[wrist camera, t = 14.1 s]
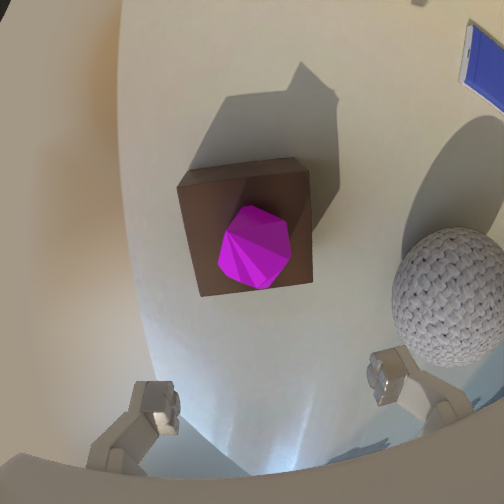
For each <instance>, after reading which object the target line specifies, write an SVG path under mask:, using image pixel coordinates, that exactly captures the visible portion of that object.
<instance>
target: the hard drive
mask: <svg viewBox="0 0 504 504" xmlns="http://www.w3.org/2000/svg"><path fill="white" fill-rule="evenodd" d="M459 82H460V83H461V84H463V85H464V86H466V87H467V88H468V89H470V90H471V91H473V92H474V93H475V94H477V95H478V96H480V97H481V98H482V99H484V100H485V101H486V102H488V103H489V104H490V105H492V106H493V107H494V108H495V109H497V110H498V111H499V112H500V113H502V114H503V115H504V50H503V49H502V48H501V47H499V46H498V45H497V44H496V43H495V42H494V41H493V40H491V39H490V38H489V37H488V36H486V35H485V34H484V33H483V32H481V31H480V30H479V29H478V28H476V27H475V26H474V25H471V26H468V27H467V29H466V37H465V45H464V52H463V58H462V64H461V70H460V75H459Z"/></svg>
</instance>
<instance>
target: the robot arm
mask: <svg viewBox="0 0 504 504" xmlns="http://www.w3.org/2000/svg"><path fill="white" fill-rule="evenodd" d="M369 360H370V362H371V363H370V365H369V366H368V368H367V379H368V383H369V385H370V387H371V388H373V389H375V391H374V397H375V399H376V402H377V404H378V406H382V405H386V404H390V403H393V402H396V403H398V404H399V405H400V406H401V407H403V408H404V409H405V410H407V411H408V412H409V413H411V414H412V415H413V416H415V417H416V418H417V419H419V420H420V421H421V422H423V423H424V424H425V425H424V426H423V428H422V430H421V431H420V433H419V435H418V436H419V438H416V439H414V440H411V441H408V442H405V443H403V444H400V445H397V446H394V447H391V448H388V449H384V450H381V451H378V452H375V453H371V454H368V455H364V456H361V457H357V458H353V459H349V460H345V461H341V462H337V463H332V464H327V465H323V466H318V467H313V468H307V469H301V470H295V471H289V472H282V473H274V474H266V475H257V476H246V477H232V478H206V479H205V478H201V479H188V478H186V479H185V478H160V477H147V473H146V472H145V471H144V470H143V469H142V468H141V467H140V466H138V464H139V463H140V461H141V460H142V458H143V457H144V456H145V455H146V453H147V452H148V451H149V449H150V448H151V447H152V445H153V444H154V442H155V441H156V439H157V438H158V437H159V435H178V429H179V420H178V419H177V416H178V415H179V414H180V408H181V407H180V399H179V396H178V393H177V392H175V391H174V385H173V383H172V381H137V382H136V383H135V385H134V389H133V393H132V397H131V401H130V405H129V410H128V412H124V413H123V414H122V415H121V416H120V417H119V418H118V419H117V420H116V421H115V422H114V423H113V424H112V425H111V426H110V427H109V428H108V429H107V430H106V431H105V432H104V433H103V434H102V435H101V436H100V437H99V438H98V439H97V440H96V441H95V442H93V443H92V445H91V449H90V452H89V457H88V461H87V465H86V468H80V467H75V466H71V465H66V464H61V463H58V462H54V461H50V460H46V459H42V458H39V457H35V456H32V455H28V454H24V453H20V454H17V455H16V456H14V457H13V458H11V459H10V460H8V461H7V462H6V463H5V464H3V465H2V466H1V467H0V504H504V397H503V398H501V399H499V400H497V401H496V402H494V403H492V404H490V405H488V406H487V407H485V408H483V409H481V410H479V411H477V412H475V410H474V408H473V406H472V405H471V403H470V401H469V400H468V398H467V396H466V395H465V393H464V392H463V391H461V390H459V389H458V388H456V387H454V386H452V385H450V384H448V383H446V382H444V381H442V380H441V379H439V378H437V377H435V376H433V375H431V374H429V373H428V372H426V371H424V370H423V371H420V369H419V367H418V366H417V364H416V362H415V361H414V359H413V357H412V356H411V354H410V353H409V351H408V349H407V348H406V346H404V345H402V346H398V347H394V348H389V349H386V350H382V351H378V352H374V353H372V354H371V355H370V359H369Z"/></svg>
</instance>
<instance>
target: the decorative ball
mask: <svg viewBox="0 0 504 504" xmlns="http://www.w3.org/2000/svg"><path fill="white" fill-rule="evenodd" d="M392 313H393V318H394V322H395V326H396V328H397V331H398V333H399V335H400V337H401V338H402V340H403V342H404V343H405V344H406V346H407V347H408V348H409V349H410V350H411V351H412V352H413V353H414V354H415V355H417V356H418V357H419V358H421V359H423V360H425V361H426V362H429V363H431V364H434V365H437V366H441V367H460V366H465V365H469V364H471V363H474V362H476V361H478V360H480V359H482V358H483V357H485V356H486V355H488V354H489V353H490V352H492V351H493V350H494V349H495V348H496V347H497V346H498V344H499V343H500V342H501V341H502V339H503V338H504V251H503V250H502V249H501V247H500V246H499V245H498V244H497V243H495V242H494V241H493V240H492V239H491V238H489V237H488V236H486V235H484V234H483V233H480V232H478V231H475V230H472V229H468V228H461V227H453V228H446V229H442V230H439V231H436V232H434V233H432V234H430V235H428V236H426V237H425V238H423V239H422V240H421V241H419V242H418V243H417V244H416V245H415V246H414V247H413V248H412V249H411V250H410V251H409V252H408V254H407V255H406V256H405V258H404V259H403V261H402V262H401V264H400V266H399V268H398V270H397V273H396V275H395V278H394V282H393V287H392Z"/></svg>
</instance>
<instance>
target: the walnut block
mask: <svg viewBox="0 0 504 504" xmlns="http://www.w3.org/2000/svg"><path fill="white" fill-rule="evenodd" d="M177 193H178V198H179V203H180V208H181V213H182V217H183V222H184V227H185V232H186V236H187V241H188V245H189V250H190V254H191V259H192V263H193V267H194V271H195V276H196V280H197V284H198V288H199V292H200V296H201V297H204V296H213V295H221V294H230V293H238V292H246V291H254V290H262V289H257V288H254V287H252V286H249V285H247V284H244V283H241V282H239V281H237V280H235V279H232V278H230V277H228V276H227V275H226V274H225V273H224V272H223V270H222V269H221V268H220V267H219V265H218V261H219V256H220V251H221V246H222V241H223V236H224V234H225V232H226V230H227V228H228V227H229V225H230V224H231V222H232V221H233V220H234V218H235V217H236V215H237V214H238V212H239V211H240V209H241V208H242V207H245V206H250V205H252V206H254V207H256V208H259V209H261V210H263V211H265V212H267V213H269V214H271V215H274V216H276V217H278V218H280V219H282V220H284V221H285V222H287V229H288V235H289V241H290V248H291V255H292V256H291V257H290V259H289V261H288V262H287V263H286V265H285V266H284V268H283V269H282V271H281V272H280V273H279V274H278V276H277V277H276V278H275V280H274V281H273V282H272V283H271V285H270V286H269V287H268V288H263V289H269V288H277V287H284V286H291V285H299V284H306V283H312V282H313V262H312V228H311V204H310V185H309V171H308V170H307V169H306V168H305V167H304V166H303V165H302V164H301V163H300V162H298V161H297V160H296V159H295V158H294V157H291V158H280V159H271V160H262V161H253V162H245V163H237V164H230V165H222V166H215V167H209V168H202V169H196V170H190V171H187V172H186V174H185V175H184V177H183V178H182V180H181V182H180V183H179V185H178V186H177Z"/></svg>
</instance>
